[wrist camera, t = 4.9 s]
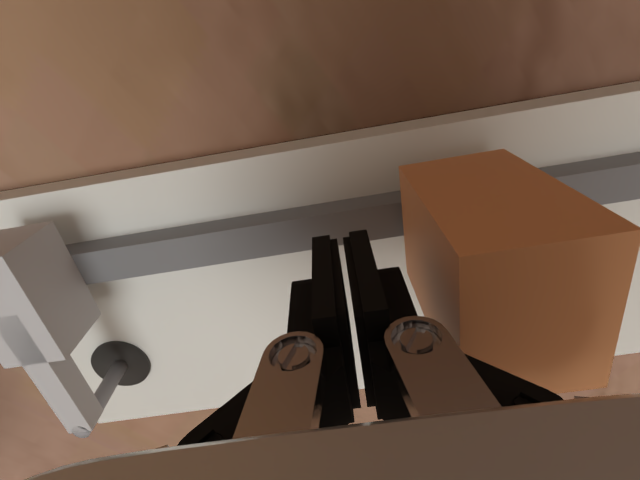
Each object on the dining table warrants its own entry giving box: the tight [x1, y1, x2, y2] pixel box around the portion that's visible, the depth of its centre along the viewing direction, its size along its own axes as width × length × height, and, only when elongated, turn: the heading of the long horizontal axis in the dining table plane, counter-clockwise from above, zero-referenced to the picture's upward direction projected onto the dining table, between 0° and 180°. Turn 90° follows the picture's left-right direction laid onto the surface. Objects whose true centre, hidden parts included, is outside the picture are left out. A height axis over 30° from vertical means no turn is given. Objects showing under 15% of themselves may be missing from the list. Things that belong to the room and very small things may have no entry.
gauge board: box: [0, 81, 640, 438], centre depth 17 cm, size 13×30×6 cm, turn 100°
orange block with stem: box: [399, 149, 640, 394], centre depth 13 cm, size 8×4×7 cm, turn 10°
